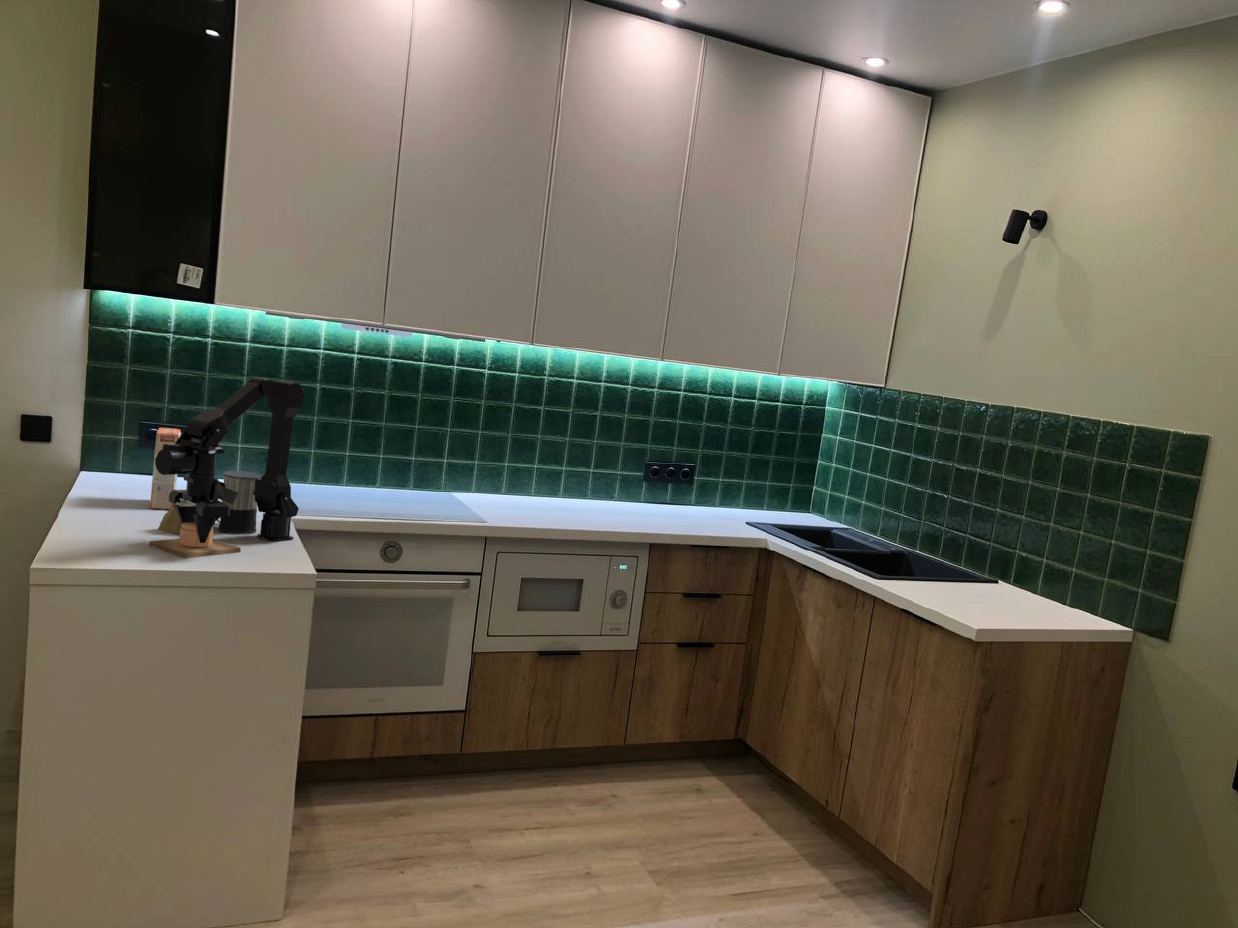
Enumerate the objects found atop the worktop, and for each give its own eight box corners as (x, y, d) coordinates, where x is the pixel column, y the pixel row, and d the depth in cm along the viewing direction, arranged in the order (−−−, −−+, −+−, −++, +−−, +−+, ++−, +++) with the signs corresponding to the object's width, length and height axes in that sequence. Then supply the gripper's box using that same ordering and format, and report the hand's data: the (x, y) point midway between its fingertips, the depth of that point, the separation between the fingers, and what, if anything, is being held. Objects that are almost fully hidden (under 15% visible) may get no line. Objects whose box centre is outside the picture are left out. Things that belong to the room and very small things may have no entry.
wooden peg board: (203, 539, 239) (204, 523, 238) (240, 551, 231) (241, 535, 231) (149, 545, 227) (150, 528, 226) (186, 558, 220) (187, 540, 219)
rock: (215, 527, 243) (204, 514, 251) (196, 501, 239) (186, 488, 246) (175, 553, 239) (165, 539, 247) (155, 527, 235) (145, 513, 242)
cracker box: (173, 510, 268) (179, 434, 266) (149, 509, 266) (155, 432, 264) (175, 501, 281) (181, 428, 279) (152, 500, 279) (158, 426, 277)
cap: (175, 541, 229) (176, 522, 228) (203, 540, 234) (205, 521, 233) (187, 547, 224) (189, 528, 224) (216, 546, 229) (217, 527, 229)
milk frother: (262, 534, 253) (267, 477, 252) (199, 535, 243) (203, 476, 241) (241, 522, 264) (245, 467, 262) (179, 523, 253) (184, 466, 252)
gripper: (254, 479, 227) (248, 546, 229) (216, 466, 239) (211, 529, 241) (206, 480, 219) (201, 549, 220) (170, 466, 231) (165, 531, 233)
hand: (195, 539), depth 229 cm, fingers closed on cap, 7 cm apart
